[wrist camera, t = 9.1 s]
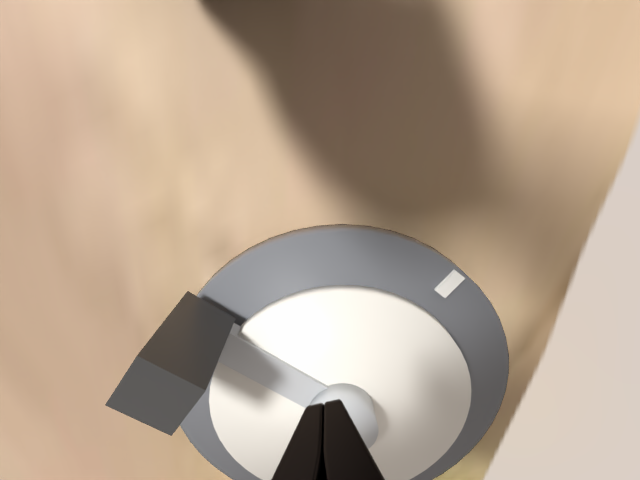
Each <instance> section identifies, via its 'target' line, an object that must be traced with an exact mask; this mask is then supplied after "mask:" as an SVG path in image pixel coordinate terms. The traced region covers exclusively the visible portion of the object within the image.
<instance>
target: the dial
mask: <svg viewBox="0 0 640 480" xmlns="http://www.w3.org/2000/svg"><path fill="white" fill-rule="evenodd" d="M235 319H236V318H234V317H232V316H230V315H229V314H227V313H225V312H223V311H222V310H220V309H218V308H216V307H215V306H213V305H211V304H209V303H208V302H206V301H204V300H202V299H201V298H199V297H197V296H195V295H194V294H192V293H190V292H188V291H187V293H186V294H185V295H184V297H183V298H182V299H181V300H180V302H179V303H178V304H177V305H176V307H175V308H174V309H173V311H172V312H171V313H170V314H169V316H168V317H167V318H166V320H165V321H164V322H163V323H162V325H161V326H160V327H159V328H158V330H157V331H156V332H155V334H154V335H153V336H152V337H151V339H150V340H149V341H148V342H147V344H146V345H145V346H144V348H143V349H142V350H141V351H140V353H139V354H138V355H137V357H136V358H135V360H134V361H133V363H132V364H131V366H130V368H129V369H128V371H127V372H126V374H125V375H124V377H123V378H122V380H121V381H120V383H119V385H118V386H117V388H116V389H115V391H114V392H113V394H112V395H111V397H110V398H109V400H108V402H107V403H106V406H108V407H110V408H112V409H115V410H117V411H119V412H121V413H123V414H125V415H128V416H130V417H132V418H134V419H136V420H138V421H141V422H143V423H145V424H147V425H149V426H151V427H153V428H156V429H158V430H160V431H162V432H164V433H166V434H169V435H171V436H172V434H173V433H174V432H175V431H176V429H177V428H178V427H179V425H180V424H181V423H182V421H183V420H184V419H185V417H186V416H187V415H188V413H189V412H190V411H191V410H192V408H193V407H194V406H195V404H196V403H197V402H198V400H199V399H200V398H201V396H202V395H203V394H204V392H205V391H206V389H207V387H208V384H209V382H210V379H211V377H212V375H213V377H212V381H211V385H210V394H209V406H210V415H211V418H212V422H213V426H214V428H215V431H216V433H217V435H218V437H219V439H220V441H221V442H222V444H223V445H224V447H225V448H226V450H227V451H228V452H229V453H230V455H231V456H232V457H233V458H234V459H235V460H236V461H237V462H238V463H239V464H240V465H242V466H243V467H244V468H245V469H246V470H248V471H249V472H251V473H252V474H253V475H255V476H256V477H258V478H260V479H262V480H271V479H272V477H273V475H274V473H275V471H276V469H277V467H278V465H279V463H280V460H281V458H282V456H283V454H284V452H285V450H286V448H287V446H288V444H289V442H290V440H291V437H292V435H293V433H294V431H295V429H296V427H297V425H298V423H299V421H300V419H301V416H302V414H303V412H304V410H305V408H306V407H307V406H308V405H312V404H317V403H323V404H325V402H327V401H331V400H336V399H340V400H341V401H342V402H343V404H344V406H345V408H346V409H347V411H348V413H349V415H350V417H351V419H352V420H353V422H354V424H355V426H356V428H357V429H358V431H359V433H360V435H361V437H362V439H363V440H364V442H365V444H366V446H367V448H368V450H369V451H370V453H371V455H372V457H373V459H374V461H375V462H376V464H377V466H378V468H379V470H380V472H381V473H382V475H383V477H384V479H385V480H410V479H412V478H414V477H415V476H417V475H418V474H420V473H422V472H423V471H425V470H426V469H428V468H429V467H430V466H431V465H433V464H434V463H435V462H437V461H438V460H439V459H440V458H441V457H442V456H443V455H444V454H445V453H446V452H447V451H448V449H449V448H450V447H451V445H452V444H453V443H454V442H455V440H456V439H457V437H458V435H459V434H460V432H461V430H462V428H463V426H464V424H465V421H466V419H467V416H468V412H469V408H470V403H471V379H470V374H469V371H468V367H467V363H466V361H465V359H464V357H463V355H462V353H461V351H460V349H459V348H458V346H457V345H456V343H455V342H454V340H453V339H452V337H451V336H450V334H449V333H448V331H447V330H446V328H445V327H444V326H443V325H442V324H441V323H440V322H439V321H438V320H437V319H436V318H435V317H434V316H433V315H432V314H430V313H429V312H428V311H427V310H425V309H424V308H423V307H421V306H419V305H418V304H416V303H414V302H413V301H411V300H409V299H407V298H405V297H402V296H400V295H397V294H395V293H393V292H389V291H385V290H382V289H378V288H374V287H367V286H360V285H330V286H319V287H315V288H310V289H306V290H301V291H298V292H295V293H292V294H290V295H287V296H284V297H282V298H280V299H278V300H276V301H274V302H272V303H270V304H268V305H266V306H265V307H263V308H262V309H260V310H259V311H257V312H256V313H254V314H253V315H252V316H251V317H250V318H248V319H247V320H246V321H245V322H244V323H243V324H242V325H241V326H239V325H237V324H235V323H234V321H235ZM216 365H217V366H216ZM215 367H216V368H215ZM214 370H215V371H214ZM213 372H214V373H213Z"/></svg>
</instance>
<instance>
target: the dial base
mask: <svg viewBox="0 0 640 480" xmlns="http://www.w3.org/2000/svg"><path fill="white" fill-rule="evenodd" d="M330 285H360V286H367V287H374V288H378V289H382V290H385V291H389V292H393V293H395V294H397V295H400V296H402V297H405V298H407V299H409V300H411V301H413V302H414V303H416V304H418V305H419V306H421V307H423V308H424V309H425V310H427V311H428V312H429V313H430V314H432V315H433V316H434V317H435V318H436V319H437V320H438V321H439V322H440V323H441V324H442V325H443V326H444V327H445V328H446V330H447V331H448V333H449V334H450V336H451V337H452V339H453V340H454V342H455V343H456V345H457V346H458V348H459V349H460V351H461V353H462V355H463V357H464V359H465V361H466V363H467V367H468V371H469V374H470V379H471V403H470V408H469V412H468V416H467V419H466V421H465V424H464V426H463V428H462V430H461V432H460V434H459V435H458V437H457V439H456V440H455V442H454V443H453V444H452V445H451V447H450V448H449V449H448V451H447V452H446V453H445V454H444V455H443V456H442V457H441V458H440V459H439V460H438V461H437V462H435V463H434V464H433V465H431V466H430V467H429V468H428V469H426V470H425V471H423V472H422V473H420V474H418V475H417V476H415V477H414V478H412V479H410V480H432V479H434V478H436V477H438V476H439V475H441V474H443V473H444V472H445V471H447V470H448V469H450V468H451V467H452V466H454V465H455V464H457V463H458V462H459V461H460V460H461V459H462V458H463V457H464V456H466V455H467V454H468V453H469V452H470V451H471V450H472V449H473V448H474V446H475V445H476V444H477V443H478V442H479V441H480V440H481V439H482V437H483V436H484V434H485V433H486V431H487V430H488V428H489V427H490V426H491V424H492V422H493V420H494V418H495V416H496V414H497V412H498V410H499V408H500V406H501V403H502V400H503V397H504V394H505V391H506V385H507V379H508V370H509V355H508V348H507V342H506V337H505V334H504V331H503V328H502V325H501V322H500V319H499V317H498V315H497V314H496V312H495V310H494V308H493V306H492V304H491V302H490V301H489V300H488V298H487V297H486V296H485V295H484V293H483V292H482V291H481V289H480V288H479V287H478V286H477V285H476V284H475V283H474V282H473V281H472V280H471V279H470V278H469V277H468V276H467V275H466V274H465V273H464V272H463V271H462V270H461V269H459V268H458V267H457V266H456V265H455V264H454V263H453V262H452V261H451V260H450V259H448V258H447V257H445V256H444V255H442V254H441V253H439V252H438V251H437V250H435V249H434V248H432V247H430V246H428V245H426V244H424V243H422V242H420V241H418V240H416V239H414V238H411V237H408V236H405V235H403V234H400V233H397V232H394V231H391V230H386V229H381V228H375V227H370V226H362V225H347V224H338V225H322V226H314V227H309V228H303V229H298V230H293V231H290V232H287V233H284V234H281V235H278V236H275V237H272V238H269V239H267V240H265V241H263V242H261V243H259V244H257V245H254V246H252V247H250V248H249V249H247V250H245V251H244V252H242V253H241V254H239V255H238V256H236V257H235V258H233V259H232V260H230V261H229V262H228V263H227V264H226V265H224V266H223V267H222V268H221V269H220V270H219V271H218V272H216V273H215V274H214V275H213V276H212V278H211V279H210V280H209V281H208V282H207V283H206V285H205V286H204V287H203V288H202V289H201V290H200V292H199V293H198V295H197V297H199V298H201V299H202V300H204V301H206V302H208V303H209V304H211V305H213V306H215V307H216V308H218V309H220V310H222V311H223V312H225V313H227V314H229V315H230V316H232V317H234V318H236V319H235V321H234V323H235V324H237V325H239V326H241V325H242V324H243V323H244V322H245V321H246V320H247V319H248V318H250V317H251V316H252V315H253V314H254V313H256V312H257V311H259V310H260V309H262V308H263V307H265V306H266V305H268V304H270V303H272V302H274V301H276V300H278V299H280V298H282V297H284V296H287V295H290V294H292V293H295V292H298V291H301V290H306V289H310V288H315V287H319V286H330ZM216 366H217V365H216ZM215 368H216V367H215ZM214 371H215V370H214ZM213 373H214V372H213ZM212 377H213V375H212ZM212 377H211V379H210V382H209V384H208V387H207V389H206V391H205V392H204V394H203V395H202V396H201V398H200V399H199V400H198V402H197V403H196V404H195V406H194V407H193V408H192V410H191V411H190V412H189V413H188V415H187V416H186V417H185V419H184V420H183V421H182V423H181V424H180V426H181V428H182V429H183V431H184V433H185V434H186V436H187V437H188V439H189V440H190V442H191V443H192V444H193V445H194V447H195V448H196V449H197V450H198V451H199V452H200V454H201V455H202V456H203V457H204V458H205V459H207V460H208V461H209V462H210V463H211V464H212V465H213V466H214V467H216V468H217V469H218V470H220V471H221V472H223V473H224V474H225V475H227V476H228V477H230V478H231V479H233V480H262V479H260V478H258V477H256V476H255V475H253V474H252V473H251V472H249V471H248V470H246V469H245V468H244V467H243V466H242V465H240V464H239V463H238V462H237V461H236V460H235V459H234V458H233V457H232V456H231V455H230V453H229V452H228V451H227V450H226V448H225V447H224V445H223V444H222V442H221V441H220V439H219V437H218V435H217V433H216V431H215V428H214V426H213V422H212V418H211V415H210V406H209V394H210V385H211V381H212Z"/></svg>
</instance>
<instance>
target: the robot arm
mask: <svg viewBox="0 0 640 480" xmlns="http://www.w3.org/2000/svg"><path fill="white" fill-rule="evenodd" d="M271 480H385V479H384V477H383V475H382V473H381V472H380V470H379V468H378V466H377V464H376V462H375V461H374V459H373V457H372V455H371V453H370V451H369V450H368V448H367V446H366V444H365V442H364V440H363V439H362V437H361V435H360V433H359V431H358V429H357V428H356V426H355V424H354V422H353V420H352V419H351V417H350V415H349V413H348V411H347V409H346V408H345V406H344V404H343V402H342V401H341V400H340V399H336V400H331V401H327V402H325V404H323V403H317V404H312V405H308V406H307V407H306V408H305V410H304V412H303V414H302V416H301V419H300V421H299V423H298V425H297V427H296V429H295V431H294V433H293V435H292V437H291V440H290V442H289V444H288V446H287V448H286V450H285V452H284V454H283V456H282V458H281V460H280V463H279V465H278V467H277V469H276V471H275V473H274V475H273V477H272V479H271Z"/></svg>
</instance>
